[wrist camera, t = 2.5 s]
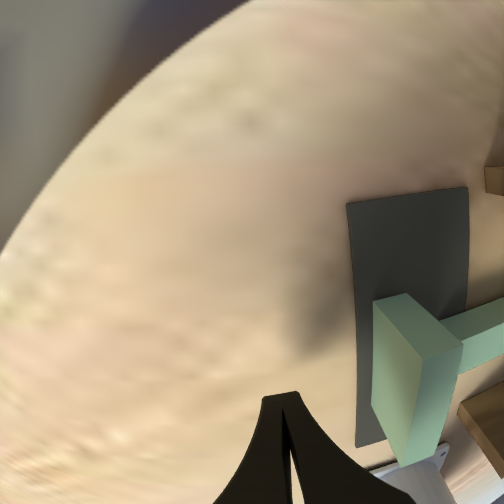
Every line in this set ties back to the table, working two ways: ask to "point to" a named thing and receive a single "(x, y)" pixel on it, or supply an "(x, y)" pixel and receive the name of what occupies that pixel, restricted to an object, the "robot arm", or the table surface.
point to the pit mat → (405, 270)
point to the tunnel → (497, 397)
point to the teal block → (425, 367)
